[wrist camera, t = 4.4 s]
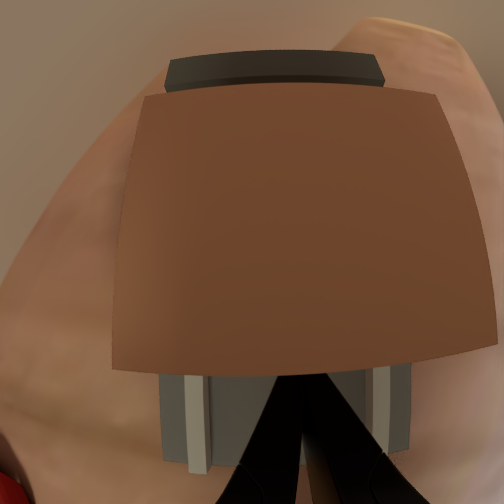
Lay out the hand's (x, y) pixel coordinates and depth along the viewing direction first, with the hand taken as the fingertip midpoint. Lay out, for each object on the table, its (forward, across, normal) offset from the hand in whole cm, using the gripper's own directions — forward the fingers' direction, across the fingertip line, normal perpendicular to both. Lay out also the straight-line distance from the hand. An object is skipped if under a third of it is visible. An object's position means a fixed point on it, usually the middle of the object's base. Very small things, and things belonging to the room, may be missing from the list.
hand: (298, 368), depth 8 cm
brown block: (+6, 0, +2) cm, 6 cm away
